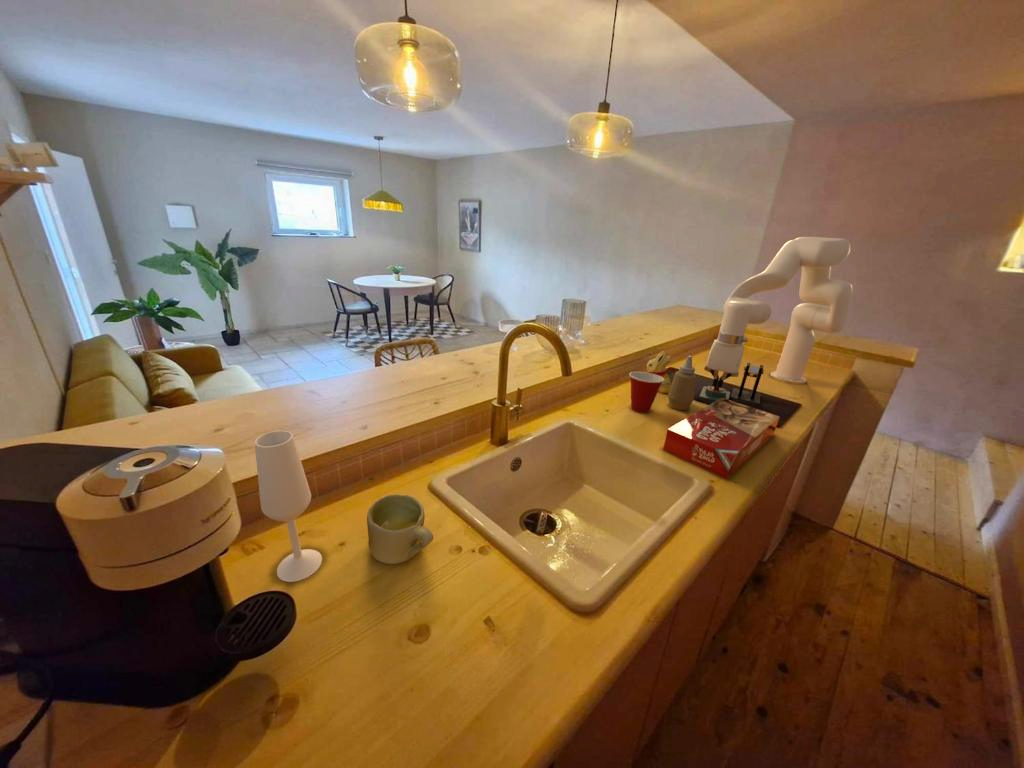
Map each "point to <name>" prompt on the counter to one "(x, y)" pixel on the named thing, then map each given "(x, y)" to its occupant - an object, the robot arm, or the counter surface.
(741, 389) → the bracket
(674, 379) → the squeeze bottle
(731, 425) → the food box
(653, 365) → the chocolate bunny
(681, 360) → the counter surface
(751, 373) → the lever
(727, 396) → the button housing
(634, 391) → the plastic cup
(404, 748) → the counter surface
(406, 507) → the mug
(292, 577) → the champagne flute
